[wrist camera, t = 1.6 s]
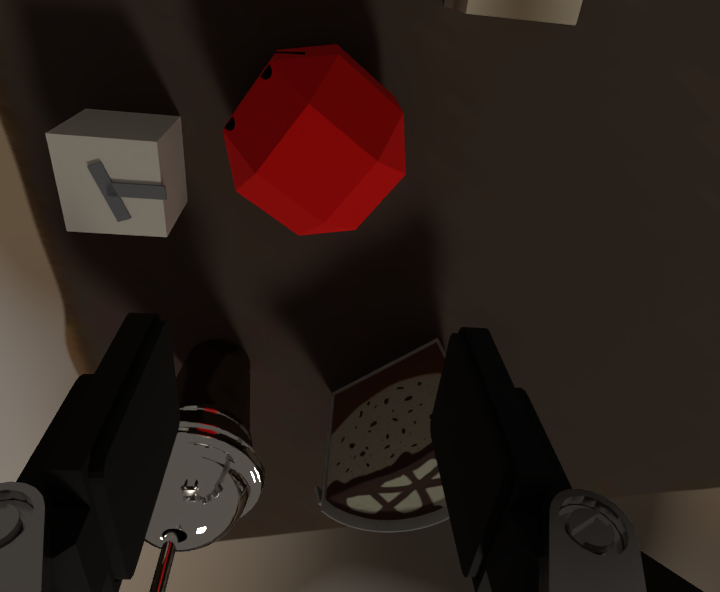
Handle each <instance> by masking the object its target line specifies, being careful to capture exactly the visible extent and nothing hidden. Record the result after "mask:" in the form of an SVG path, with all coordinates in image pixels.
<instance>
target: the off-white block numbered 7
mask: <svg viewBox="0 0 720 592" xmlns="http://www.w3.org/2000/svg"><path fill="white" fill-rule="evenodd" d="M45 134H46V139H47V143H48V148H49V152H50V157H51V161H52V166H53V171H54V175H55V180H56V184H57V189H58V193H59V198H60V203H61V207H62V212H63V216H64V221H65V225H66V230H67V231H71V232H88V233H104V234H121V235H138V236H154V237H167V236H168V235H169V233H170V231H171V229H172V228H173V226H174V224H175V222H176V221H177V219H178V217H179V215H180V214H181V212H182V210H183V208H184V207H185V205H186V203H187V189H186V177H185V164H184V152H183V140H182V128H181V116H169V115H157V114H145V113H133V112H121V111H109V110H96V109H84V110H83V111H81V112H79V113H78V114H76V115H75V116H73V117H71V118H70V119H68V120H66V121H65V122H63V123H61V124H60V125H58V126H56V127H55V128H53V129H52V130H50V131H48V132H47V133H45Z"/></svg>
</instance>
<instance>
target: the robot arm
mask: <svg viewBox="0 0 720 592" xmlns="http://www.w3.org/2000/svg"><path fill="white" fill-rule="evenodd" d="M179 424H180V409H179V401H178V392H177V384H176V376H175V367H174V359H173V350H172V342H171V333H170V326H169V322H168V321H161V320H160V317H159V315H158V314H151V313H128V315H127V316H126V318H125V320H124V321H123V323H122V325H121V327H120V329H119V330H118V332H117V334H116V336H115V338H114V339H113V341H112V343H111V345H110V347H109V348H108V350H107V352H106V354H105V356H104V357H103V359H102V361H101V363H100V365H99V366H98V368H97V370H96V372H95V374H83V375H81V376H79V378H78V379H77V380H76V382H75V383H74V385H73V386H72V388H71V390H70V391H69V393H68V395H67V397H66V398H65V400H64V402H63V403H62V405H61V407H60V408H59V410H58V412H57V413H56V415H55V417H54V419H53V420H52V422H51V424H50V425H49V427H48V429H47V430H46V432H45V434H44V436H43V437H42V439H41V441H40V442H39V444H38V446H37V447H36V449H35V451H34V453H33V454H32V456H31V457H30V459H29V461H28V463H27V464H26V466H25V468H24V469H23V471H22V473H21V474H20V476H19V478H18V479H17V481H16V482H6V483H0V592H119V588H120V585H121V582H122V579H131V578H132V576H133V575H134V572H135V569H136V566H137V563H138V559H139V556H140V553H141V550H142V546H143V543H144V540H145V537H146V533H147V530H148V527H149V524H150V521H151V517H152V514H153V511H154V508H155V504H156V501H157V498H158V495H159V491H160V488H161V485H162V482H163V478H164V475H165V472H166V469H167V465H168V462H169V459H170V456H171V453H172V449H173V446H174V443H175V440H176V436H177V433H178V429H179ZM430 434H431V439H432V443H433V448H434V452H435V457H436V461H437V465H438V470H439V474H440V478H441V483H442V487H443V491H444V496H445V500H446V504H447V509H448V513H449V518H450V522H451V526H452V531H453V535H454V539H455V544H456V548H457V552H458V557H459V561H460V565H461V569H462V573H463V575H464V576H465V577H472V581H473V585H474V589H475V592H703V591H702V590H700V589H698V588H697V587H695V586H694V585H692V584H691V583H689V582H688V581H686V580H685V579H683V578H682V577H680V576H678V575H677V574H675V573H674V572H672V571H671V570H669V569H667V568H666V567H665V566H663V565H662V564H660V563H658V562H657V561H655V560H654V559H652V558H651V557H649V556H648V555H646V554H644V553H643V552H642V551H640V546H639V540H638V536H637V533H636V530H635V527H634V525H633V524H632V522H631V521H630V519H629V518H628V516H627V515H626V514H625V513H624V512H623V511H622V510H621V509H620V508H619V507H618V506H617V505H616V504H615V503H613V502H612V501H610V500H609V499H607V498H606V497H604V496H602V495H600V494H597V493H595V492H592V491H589V490H584V489H578V488H577V489H572V487H571V485H570V483H569V481H568V479H567V477H566V475H565V472H564V470H563V468H562V466H561V464H560V462H559V460H558V458H557V456H556V454H555V451H554V449H553V447H552V445H551V443H550V441H549V439H548V437H547V435H546V433H545V430H544V428H543V426H542V424H541V422H540V420H539V418H538V416H537V414H536V412H535V409H534V407H533V405H532V403H531V401H530V399H529V397H528V395H527V393H526V392H525V390H523V389H522V388H515V387H514V385H513V383H512V381H511V378H510V376H509V374H508V372H507V370H506V367H505V365H504V363H503V361H502V359H501V356H500V354H499V352H498V350H497V347H496V345H495V343H494V341H493V339H492V336H491V334H490V332H489V330H488V329H486V328H470V327H462V328H460V330H459V332H458V333H452V334H451V336H450V339H449V343H448V348H447V352H446V356H445V361H444V365H443V369H442V373H441V378H440V382H439V386H438V391H437V395H436V399H435V403H434V408H433V412H432V416H431V421H430Z"/></svg>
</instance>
